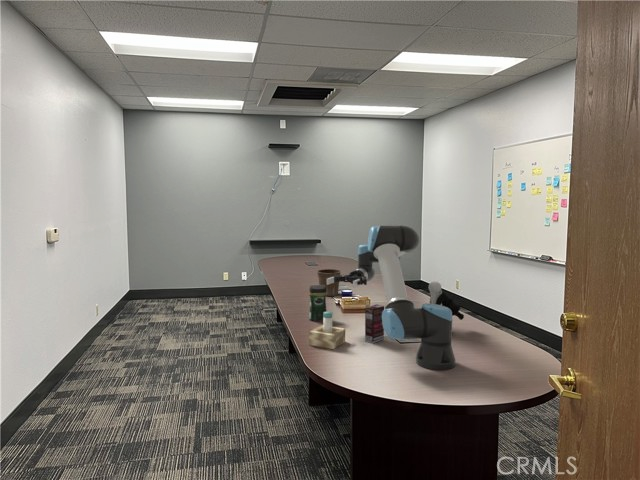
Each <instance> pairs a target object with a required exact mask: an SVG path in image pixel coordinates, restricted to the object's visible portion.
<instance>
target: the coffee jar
mask: <svg viewBox="0 0 640 480" xmlns="http://www.w3.org/2000/svg"><path fill="white" fill-rule="evenodd" d="M308 294H309V313H308V318H309V321H319V322H320V321H323V312H328V311H327V303H326V301H327V300H326V299H327V298H326V297H327V296H326V295H327V290H326V286H325V285H319V284H311V285H309V289H308Z"/></svg>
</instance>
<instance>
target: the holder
mask: <svg viewBox="0 0 640 480" xmlns="http://www.w3.org/2000/svg"><path fill="white" fill-rule="evenodd" d="M308 332H309V335H308V336H309V337H308V338H309V339H308V340H309V346H314V347H319V348H325V349H330V350H331V349H332V350H335V349H336V348H337V347H339V346H340V345H342V344H344V343H346V328H343V327H336V326H332V334H330V333H324V332H323V324H321V325H320V326H317V327H316V328H314V329H312V330H310V331H308Z"/></svg>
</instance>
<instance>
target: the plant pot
mask: <svg viewBox="0 0 640 480" xmlns="http://www.w3.org/2000/svg"><path fill="white" fill-rule="evenodd" d="M316 273H317V277H318V285H325V286H326V290H327V295H326V297H335V296H336V297H337V296H338V295H339V288H340V287H339V286H340V282H334V283H333V284H328V285H327V279H328V277H329V276H338V275H341V273H342V270H340V269H335V268H327V269H326V268H322V269H318V270H316Z"/></svg>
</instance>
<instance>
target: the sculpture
mask: <svg viewBox="0 0 640 480" xmlns="http://www.w3.org/2000/svg"><path fill="white" fill-rule="evenodd" d="M428 291H429V293H430V297H429V303H430V304H437V305H441V306H445V307H447V308H449V309H450V310H451V311H452V317H453V316H455V317H457V318H458V319H459V320H462V321H463V319H465V315H464V314H463V313H461V312H460V309H461V305H460V304H459V303H456V302H455V301H454V299H453V297H452V296H448V295H447V293H446V292H445V291H443V290H442V284H441V283H440V282H438V281H431V282H430V283H429V284H428Z"/></svg>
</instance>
